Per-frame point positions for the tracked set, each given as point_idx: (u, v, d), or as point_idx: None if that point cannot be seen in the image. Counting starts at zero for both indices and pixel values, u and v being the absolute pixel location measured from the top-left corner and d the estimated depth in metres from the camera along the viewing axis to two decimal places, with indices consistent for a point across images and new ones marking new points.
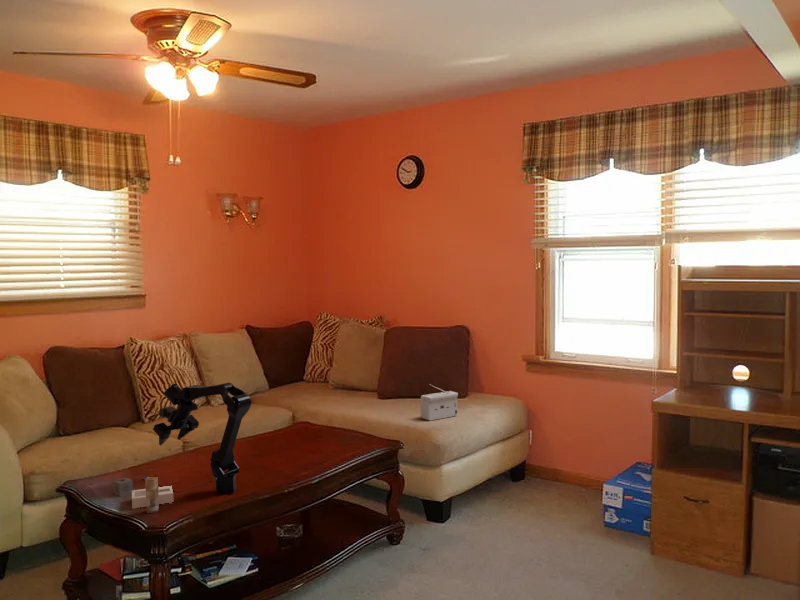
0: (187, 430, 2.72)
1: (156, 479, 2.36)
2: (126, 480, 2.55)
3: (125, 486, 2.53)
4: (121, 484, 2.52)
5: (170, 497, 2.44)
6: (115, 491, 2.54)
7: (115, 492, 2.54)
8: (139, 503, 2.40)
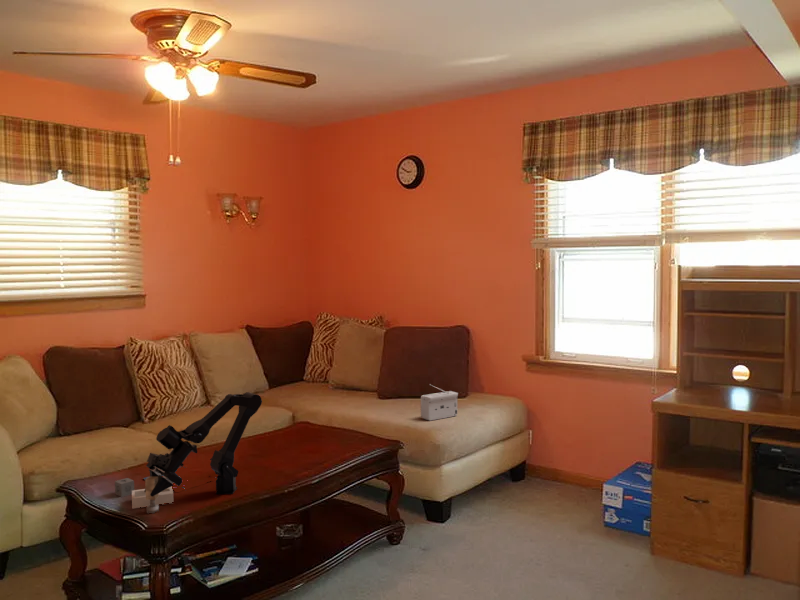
0: None
1: (156, 479, 2.36)
2: (127, 480, 2.54)
3: (127, 486, 2.52)
4: (123, 484, 2.51)
5: (170, 497, 2.44)
6: (116, 491, 2.53)
7: (116, 492, 2.53)
8: (139, 503, 2.40)
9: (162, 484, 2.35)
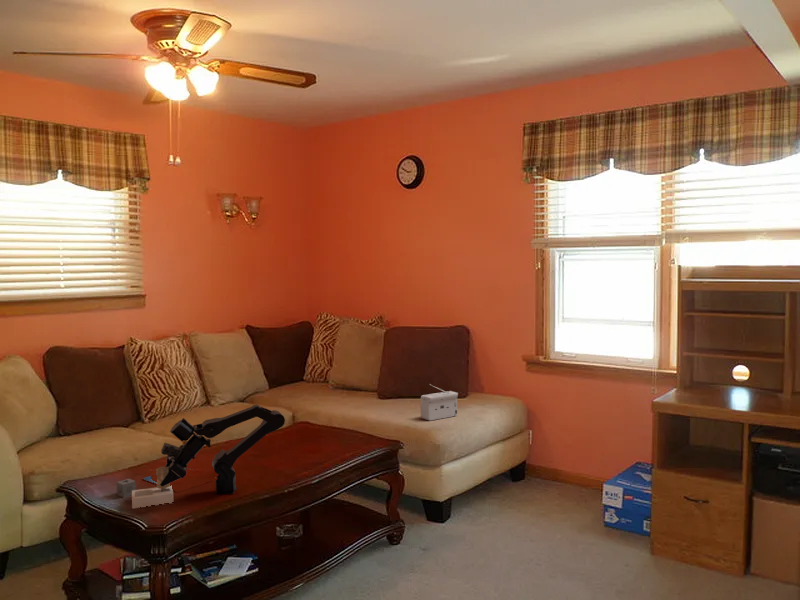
0: None
1: (166, 469, 2.46)
2: (129, 481, 2.53)
3: (128, 487, 2.52)
4: (124, 485, 2.50)
5: (170, 497, 2.44)
6: (118, 492, 2.52)
7: (118, 493, 2.52)
8: (139, 503, 2.40)
9: (171, 476, 2.42)
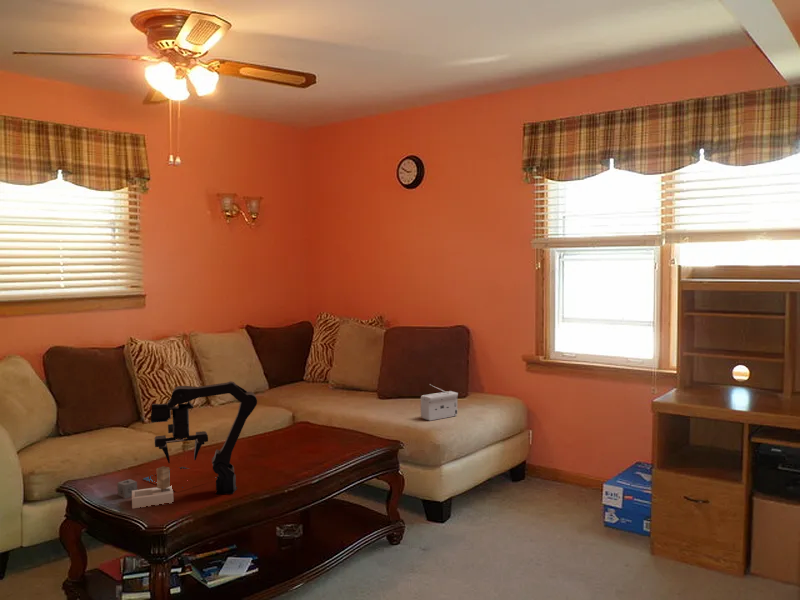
0: (196, 445, 2.50)
1: (166, 469, 2.46)
2: (130, 482, 2.53)
3: (130, 488, 2.51)
4: (126, 486, 2.50)
5: (170, 497, 2.44)
6: (119, 493, 2.52)
7: (119, 494, 2.52)
8: (139, 503, 2.40)
9: None
